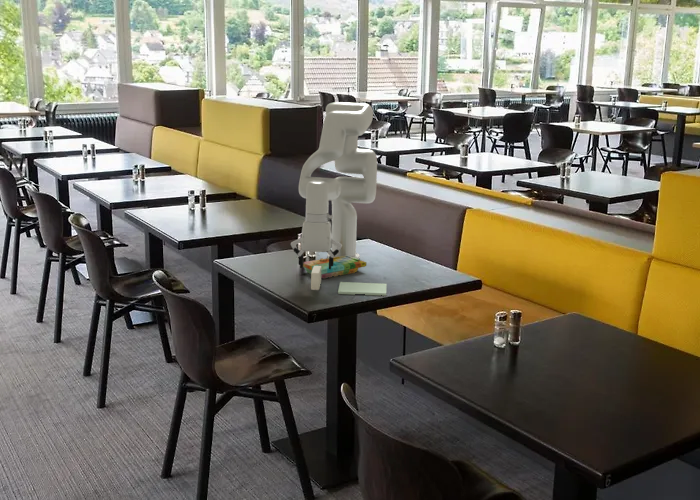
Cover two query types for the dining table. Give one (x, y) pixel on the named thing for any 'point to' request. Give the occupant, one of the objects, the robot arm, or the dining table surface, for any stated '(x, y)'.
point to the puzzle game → (335, 266)
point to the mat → (362, 288)
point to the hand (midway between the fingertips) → (315, 267)
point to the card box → (316, 278)
